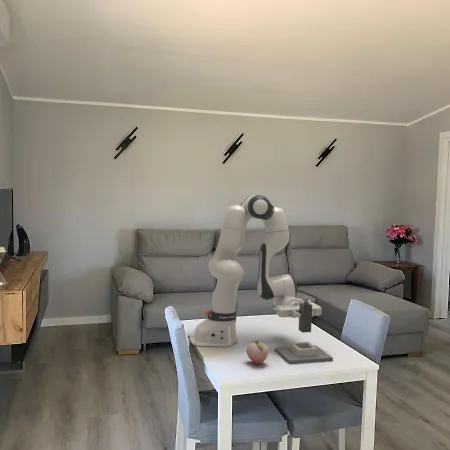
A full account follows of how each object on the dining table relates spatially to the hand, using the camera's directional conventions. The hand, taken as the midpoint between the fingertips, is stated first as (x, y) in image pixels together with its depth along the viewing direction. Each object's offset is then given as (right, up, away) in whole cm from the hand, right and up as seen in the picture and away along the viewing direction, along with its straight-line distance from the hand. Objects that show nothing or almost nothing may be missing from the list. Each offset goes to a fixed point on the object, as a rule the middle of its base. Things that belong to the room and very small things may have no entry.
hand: (306, 315), depth 200 cm
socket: (-1, -18, +2) cm, 18 cm away
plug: (0, -7, +1) cm, 7 cm away
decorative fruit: (-22, -18, -9) cm, 30 cm away
